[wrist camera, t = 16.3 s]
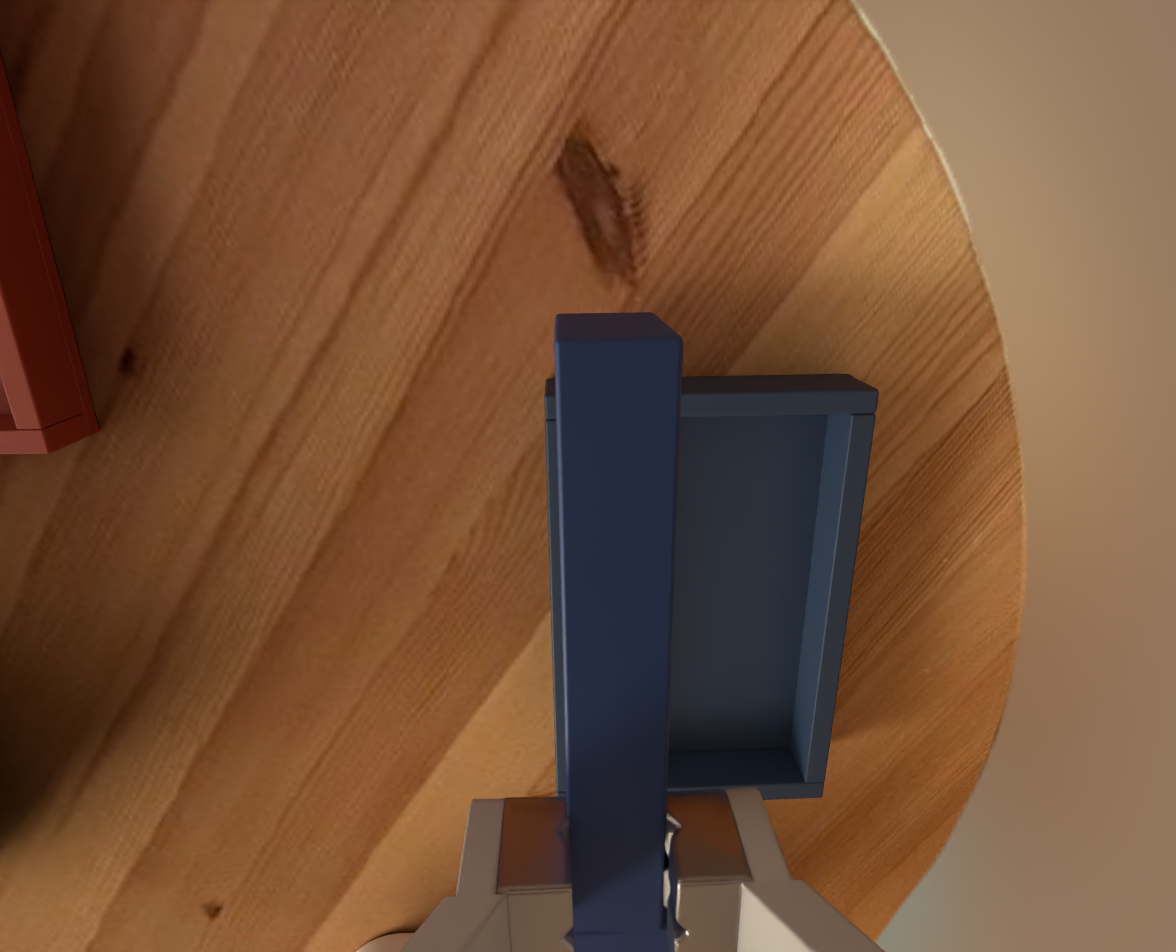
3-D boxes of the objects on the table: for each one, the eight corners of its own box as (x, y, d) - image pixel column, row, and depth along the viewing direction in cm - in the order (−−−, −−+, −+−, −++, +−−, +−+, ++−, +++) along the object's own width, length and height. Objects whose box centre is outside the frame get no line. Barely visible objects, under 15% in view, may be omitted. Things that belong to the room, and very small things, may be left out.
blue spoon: (461, 315, 10) (431, 341, 7) (745, 310, 10) (804, 334, 7) (507, 957, 14) (497, 1100, 12) (703, 948, 14) (732, 1085, 12)
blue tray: (545, 378, 24) (544, 395, 21) (848, 373, 24) (880, 389, 22) (557, 761, 29) (557, 808, 27) (801, 753, 30) (822, 798, 27)
